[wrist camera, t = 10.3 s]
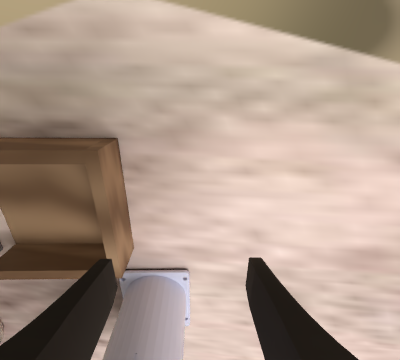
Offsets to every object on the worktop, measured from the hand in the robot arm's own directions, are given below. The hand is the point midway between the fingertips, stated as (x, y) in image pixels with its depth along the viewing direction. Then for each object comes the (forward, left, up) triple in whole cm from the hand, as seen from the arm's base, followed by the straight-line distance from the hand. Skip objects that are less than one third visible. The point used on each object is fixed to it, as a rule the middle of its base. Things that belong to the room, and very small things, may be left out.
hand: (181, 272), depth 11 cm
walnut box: (-1, +12, -10) cm, 16 cm away
